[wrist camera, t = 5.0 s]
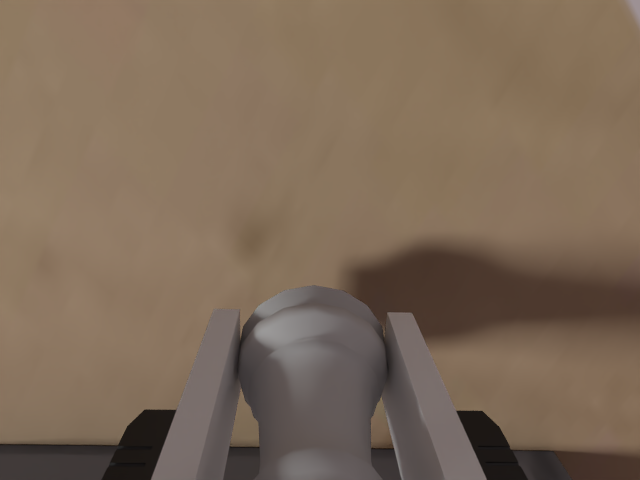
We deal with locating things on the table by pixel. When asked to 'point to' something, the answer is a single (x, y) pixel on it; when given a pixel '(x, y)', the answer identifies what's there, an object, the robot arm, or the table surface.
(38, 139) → the table surface
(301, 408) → the rook chess piece
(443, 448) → the robot arm
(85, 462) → the bay
